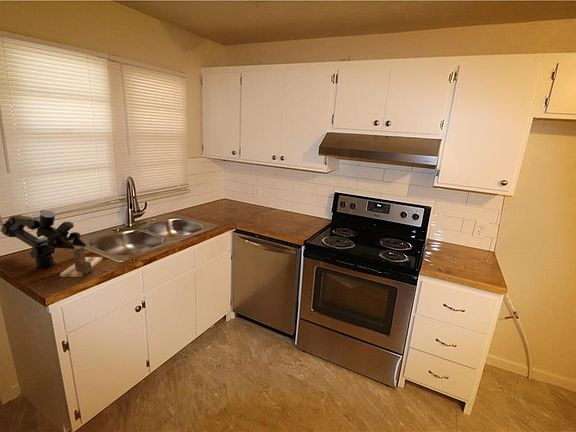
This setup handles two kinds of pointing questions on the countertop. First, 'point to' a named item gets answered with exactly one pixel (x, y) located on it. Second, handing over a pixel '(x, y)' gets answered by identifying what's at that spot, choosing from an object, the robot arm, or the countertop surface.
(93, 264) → the birch board
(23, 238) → the robot arm
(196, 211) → the countertop surface
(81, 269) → the marking gauge
